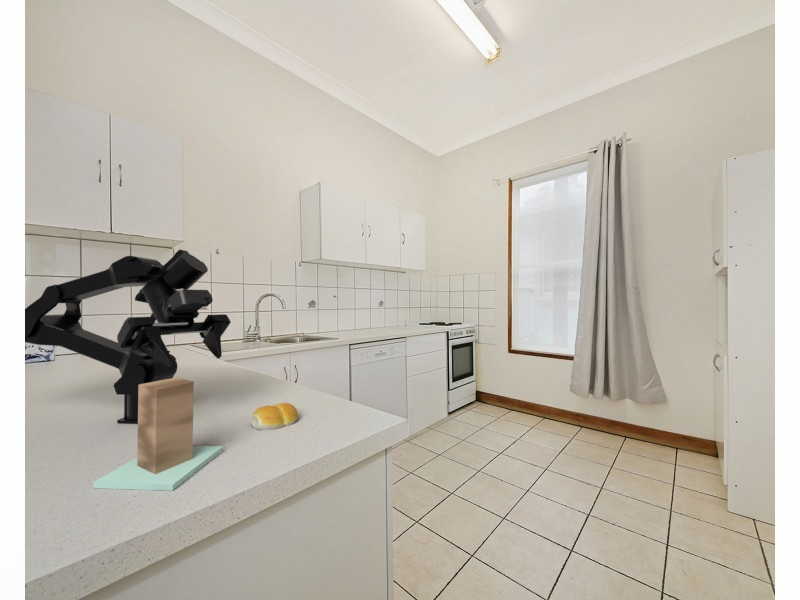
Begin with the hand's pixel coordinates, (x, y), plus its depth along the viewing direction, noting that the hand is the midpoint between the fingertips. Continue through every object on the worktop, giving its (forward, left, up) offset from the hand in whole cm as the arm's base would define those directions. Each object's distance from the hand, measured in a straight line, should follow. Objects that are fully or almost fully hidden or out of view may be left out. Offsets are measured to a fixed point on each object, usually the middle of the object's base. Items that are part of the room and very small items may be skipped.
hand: (197, 360), depth 61 cm
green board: (+5, -13, -14) cm, 20 cm away
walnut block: (+5, -13, -13) cm, 19 cm away
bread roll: (+13, +5, -14) cm, 20 cm away
